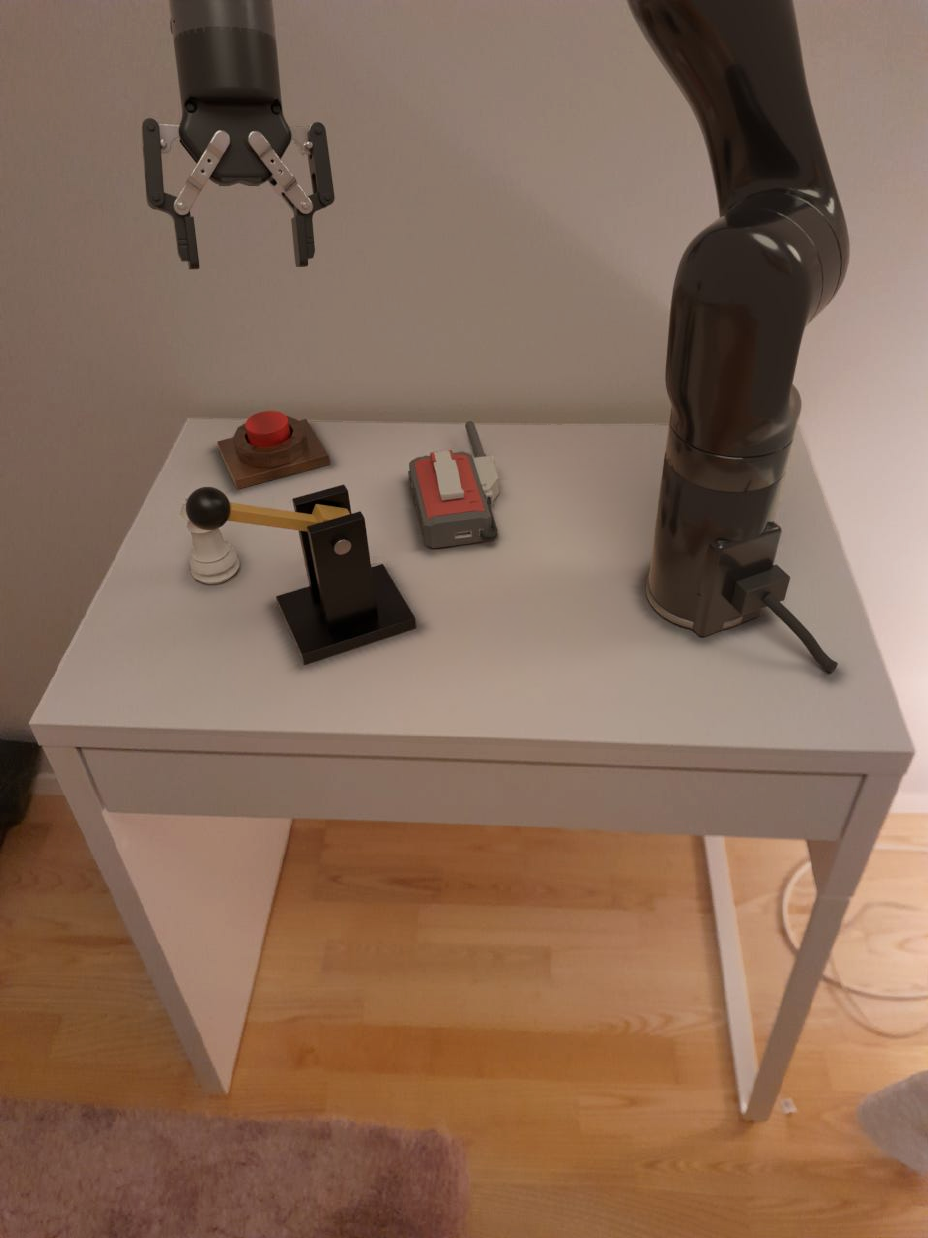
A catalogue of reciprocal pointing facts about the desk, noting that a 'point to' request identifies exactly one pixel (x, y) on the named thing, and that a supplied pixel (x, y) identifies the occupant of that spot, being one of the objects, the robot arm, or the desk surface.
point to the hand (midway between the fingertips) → (249, 267)
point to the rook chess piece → (210, 554)
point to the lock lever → (250, 512)
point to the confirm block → (272, 455)
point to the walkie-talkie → (455, 494)
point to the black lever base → (340, 586)
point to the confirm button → (267, 429)
